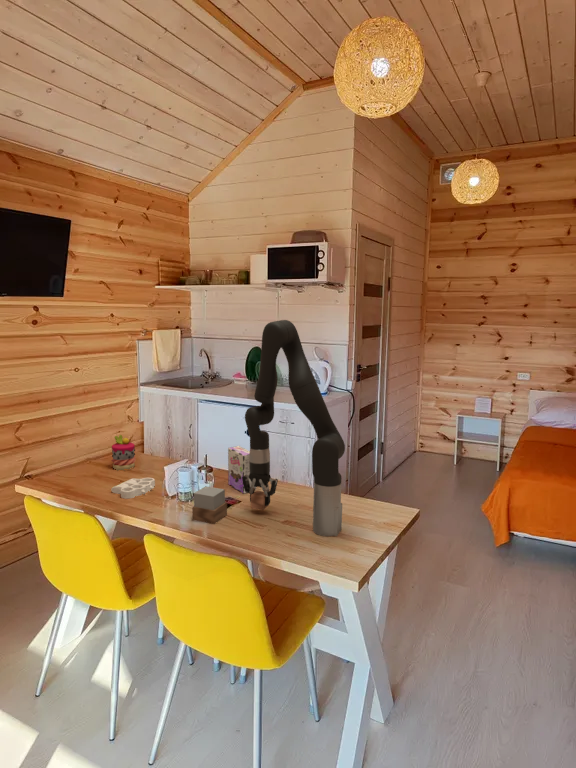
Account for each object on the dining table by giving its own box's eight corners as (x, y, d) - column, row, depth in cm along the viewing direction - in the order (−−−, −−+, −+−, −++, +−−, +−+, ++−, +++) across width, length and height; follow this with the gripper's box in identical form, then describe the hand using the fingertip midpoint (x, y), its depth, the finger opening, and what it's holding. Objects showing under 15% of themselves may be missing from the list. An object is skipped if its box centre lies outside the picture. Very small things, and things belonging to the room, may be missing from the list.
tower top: (224, 502, 186) (224, 489, 186) (213, 510, 179) (213, 496, 178) (205, 499, 189) (205, 486, 189) (194, 506, 182) (193, 493, 181)
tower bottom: (227, 515, 187) (227, 502, 187) (214, 524, 179) (214, 511, 178) (205, 511, 191) (205, 498, 190) (192, 520, 182) (192, 507, 182)
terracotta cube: (268, 505, 191) (268, 492, 190) (263, 510, 186) (263, 496, 186) (256, 503, 193) (256, 490, 192) (250, 508, 188) (250, 494, 188)
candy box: (227, 484, 220) (227, 447, 218) (239, 482, 223) (239, 445, 221) (242, 494, 208) (243, 455, 206) (255, 491, 212) (255, 453, 209)
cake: (139, 464, 245) (138, 434, 243) (129, 471, 235) (128, 439, 233) (118, 463, 247) (117, 433, 245) (108, 470, 236) (106, 438, 234)
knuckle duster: (134, 482, 222) (163, 487, 216) (105, 496, 205) (136, 501, 200) (134, 475, 221) (162, 479, 216) (105, 488, 204) (135, 493, 199)
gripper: (281, 459, 188) (281, 503, 190) (246, 455, 193) (247, 498, 196) (273, 464, 181) (273, 510, 183) (237, 460, 186) (238, 504, 189)
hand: (259, 504), depth 189 cm, fingers closed on terracotta cube, 5 cm apart
